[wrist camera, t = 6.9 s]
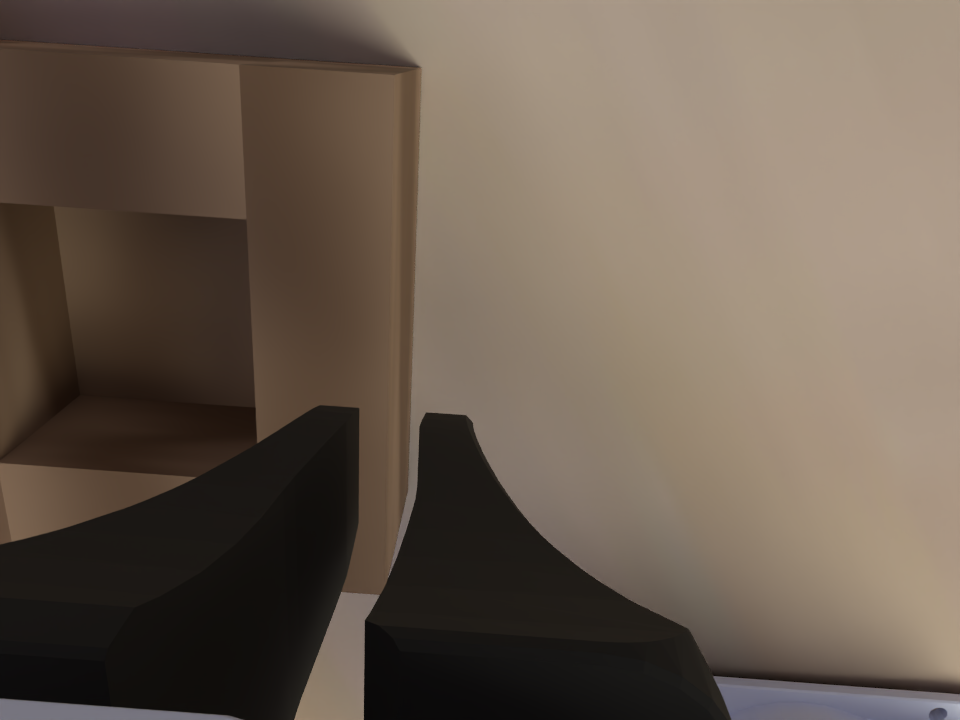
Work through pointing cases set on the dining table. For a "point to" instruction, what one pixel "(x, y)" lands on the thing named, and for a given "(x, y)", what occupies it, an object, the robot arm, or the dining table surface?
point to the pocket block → (200, 274)
